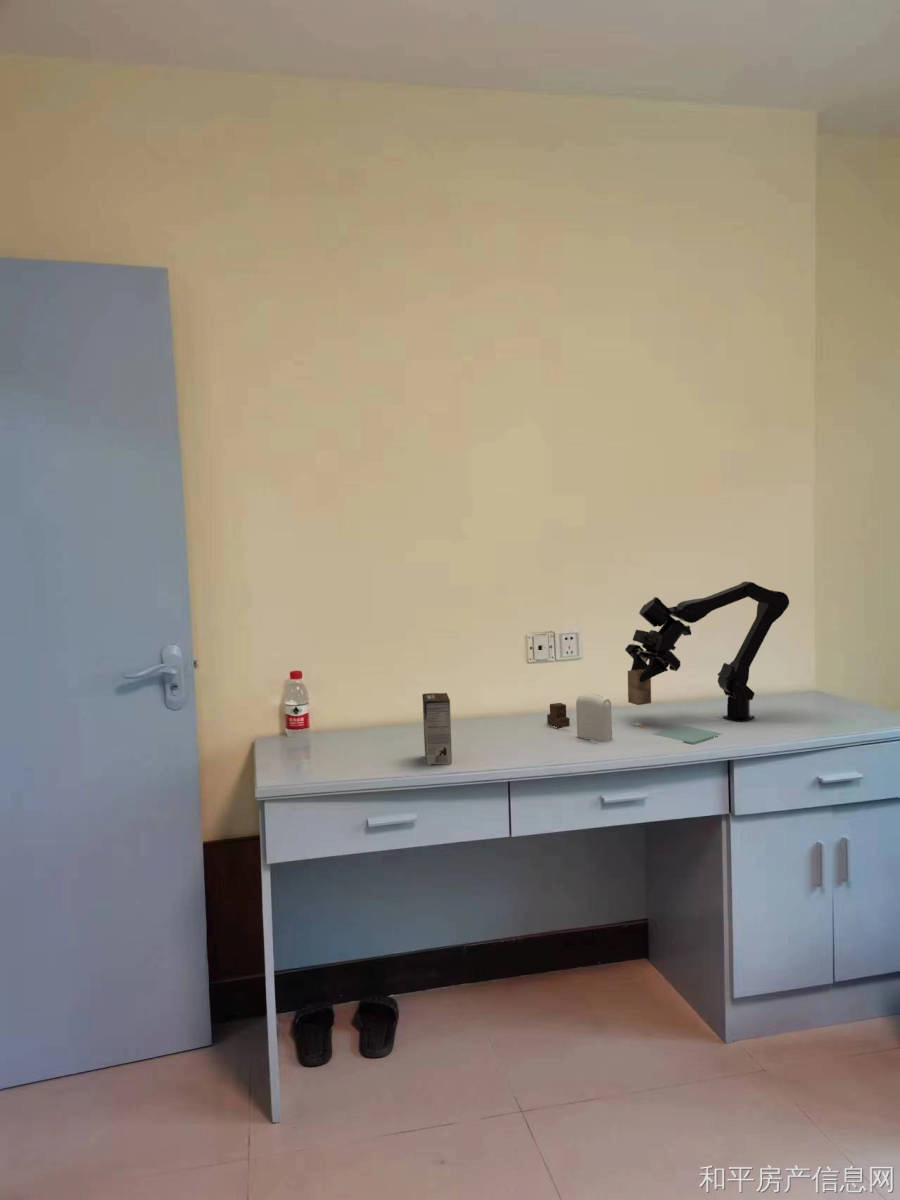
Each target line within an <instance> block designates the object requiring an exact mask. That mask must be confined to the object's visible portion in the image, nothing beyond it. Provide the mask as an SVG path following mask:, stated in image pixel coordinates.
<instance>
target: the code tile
mask: <svg viewBox="0 0 900 1200" xmlns="http://www.w3.org/2000/svg"><path fill="white" fill-rule="evenodd" d="M632 725H634V726H637V727H639V728H643V727H644V728H645V727H646V728H647V725H645V724H643V723H637V722H636V723H632Z"/></svg>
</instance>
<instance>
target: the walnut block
mask: <svg viewBox="0 0 900 1200" xmlns="http://www.w3.org/2000/svg"><path fill="white" fill-rule="evenodd" d="M644 671H645V670H642V669H638V670H631V669H630V670H627V700H628V701H627V702H628V703H630V704H633V705H636V706H642V705H648V704H652V678H650V679H648V680H646V681H644V682H640V681H639V679H640V677H641V675H642V674H643V672H644Z"/></svg>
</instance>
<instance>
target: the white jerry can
mask: <svg viewBox="0 0 900 1200" xmlns="http://www.w3.org/2000/svg"><path fill="white" fill-rule="evenodd" d="M575 707H576V711H575V713H576V735H577V737H578V738H581V739H585V740H591V741H597V742H603V743H604V742H611V741H612V740H613V725H612V724H613V721H612V720H613V719H612V702H611V700H610V699H609V698H608V697H607V696H604V695H602V694H599V693H595V692H587V693H583V694H579V695H578V696H577V697H576V701H575Z"/></svg>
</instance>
